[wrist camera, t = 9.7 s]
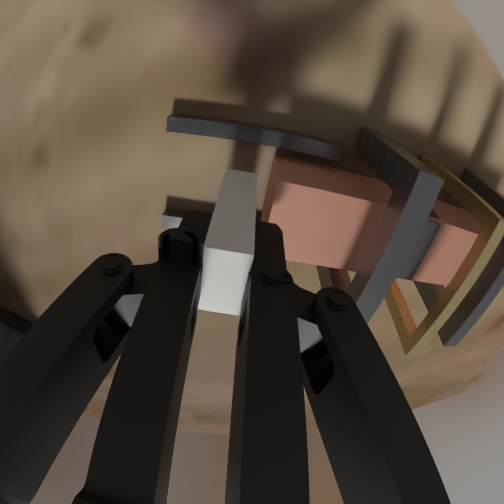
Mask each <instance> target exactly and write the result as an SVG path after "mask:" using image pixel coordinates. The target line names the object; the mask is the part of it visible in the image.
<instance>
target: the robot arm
mask: <svg viewBox="0 0 504 504" xmlns="http://www.w3.org/2000/svg"><path fill="white" fill-rule="evenodd" d="M256 190H257V174H256V173H250V172H244V171H238V170H232V169H226V172H225V176H224V179H223V182H222V185H221V188H220V192H219V195H218V198H217V202H216V205H215V208H214V212H213V214H211V213H205V212H198V211H192V210H191V211H190V212H188V213H187V214H185V215H184V216H183V218H182V220H181V222H180V225H179V227H178V228H172V229H168V230H166V231H164V232H162V233H161V234H160V235H159V237H158V251H159V259H158V261H157V262H155V263H152V264H146V265H132V262H131V260H130V258H128V257H127V256H125V255H123V254H119V253H109V254H105V255H102V256H100V257H99V258H97V259H96V260H95V261H94V262H93V263H92V264H91V265H90V266H89V267H88V268H87V269H86V270H84V271H83V272H82V273H81V274H80V275H79V276H78V277H77V278H76V279H75V280H74V281H73V282H72V283H71V284H70V285H69V286H68V287H67V289H66V290H65V291H64V292H63V293H62V294H61V295H60V296H59V297H58V298H57V299H56V300H55V301H54V302H53V303H52V304H51V305H50V306H49V307H48V309H47V310H46V311H45V312H44V313H43V314H42V315H41V316H40V317H39V319H38V320H37V321H36V322H35V323H34V324H33V325H31V324H29V323H28V322H26V321H24V320H23V319H21V318H19V317H17V316H16V315H14V314H11V313H9V312H6V311H2V310H0V504H29V503H30V502H31V501H32V499H33V497H34V496H35V494H36V493H37V491H38V489H39V487H40V485H41V484H42V482H43V480H44V478H45V476H46V474H47V473H48V471H49V469H50V467H51V465H52V463H53V462H54V460H55V458H56V457H57V455H58V453H59V452H60V450H61V448H62V446H63V445H64V443H65V441H66V440H67V438H68V436H69V435H70V433H71V431H72V429H73V428H74V426H75V425H76V423H77V421H78V420H79V418H80V416H81V415H82V413H83V412H84V410H85V408H86V407H87V405H88V404H89V402H90V400H91V399H92V397H93V396H94V394H95V393H96V391H97V389H98V388H99V386H100V385H101V383H102V382H103V380H104V379H105V377H106V376H107V374H108V373H109V371H110V370H111V368H112V367H113V365H114V364H115V362H116V361H117V359H118V358H119V356H120V355H121V357H120V360H119V362H118V365H117V368H116V371H115V374H114V378H113V381H112V384H111V387H110V390H109V393H108V397H107V400H106V403H105V407H104V410H103V414H102V417H101V421H100V424H99V428H98V432H97V436H96V440H95V443H94V447H93V452H92V456H91V460H90V464H89V469H88V474H87V479H86V482H85V485H84V487H83V489H82V490H81V491H80V492H79V493H78V494H77V495H76V496H75V498H74V500H73V502H72V504H166V502H167V494H168V486H169V477H170V470H171V464H172V456H173V450H174V449H173V448H174V443H175V436H176V430H177V424H178V418H179V412H180V406H181V400H182V394H183V388H184V382H185V377H186V371H187V366H188V361H189V355H190V350H191V345H192V340H193V335H194V330H195V325H196V317H197V309H201V310H206V311H213V312H219V313H225V314H232V315H238V316H240V313H241V317H240V322H239V326H238V330H237V334H236V338H235V341H237V347H236V359H235V372H234V385H233V398H232V411H231V424H230V439H229V452H228V466H227V480H226V494H225V504H310V503H309V474H308V473H309V472H308V451H307V432H306V415H305V401H304V388H305V391H306V394H307V397H308V400H309V403H310V406H311V408H312V411H313V414H314V417H315V420H316V423H317V426H318V429H319V431H320V435H321V437H322V440H323V443H324V446H325V449H326V452H327V455H328V458H329V461H330V464H331V467H332V469H333V472H334V476H335V479H336V482H337V484H338V487H339V490H340V493H341V496H342V499H343V502H344V504H450V500H449V498H448V495H447V492H446V490H445V487H444V485H443V482H442V480H441V477H440V474H439V472H438V469H437V467H436V464H435V462H434V460H433V457H432V455H431V453H430V450H429V448H428V446H427V444H426V441H425V439H424V436H423V434H422V432H421V430H420V428H419V425H418V423H417V421H416V419H415V417H414V415H413V412H412V410H411V408H410V406H409V404H408V402H407V400H406V398H405V396H404V394H403V392H402V390H401V388H400V386H399V384H398V382H397V380H396V378H395V376H394V374H393V372H392V370H391V368H390V366H389V364H388V362H387V360H386V358H385V356H384V354H383V352H382V351H381V349H380V347H379V345H378V343H377V341H376V339H375V338H374V336H373V334H372V332H371V330H370V328H369V327H368V325H367V323H366V321H365V319H364V318H363V316H362V314H361V312H360V310H359V309H358V307H357V305H356V303H355V302H354V300H353V299H352V298H351V296H350V295H349V294H347V293H346V292H344V291H343V290H340V289H338V288H334V287H326V288H322V289H321V290H319V291H318V292H317V294H315V293H312V292H310V291H307V290H305V289H303V288H300V287H299V286H297V285H296V284H294V282H293V278H292V276H291V274H290V273H289V272H288V271H287V269H286V259H285V249H284V241H283V231H282V230H281V229H280V227H279V226H278V225H277V224H275V223H269V222H264V221H258V220H255V219H256ZM121 353H122V354H121ZM303 385H304V387H303Z"/></svg>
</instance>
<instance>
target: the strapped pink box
mask: <svg viewBox="0 0 504 504" xmlns="http://www.w3.org/2000/svg"><path fill="white" fill-rule="evenodd" d="M392 193H393V191H392V190H391V188H390V187H389V186H388V185H387V184H386V183H385V182H383V181H380V180H377V179H373V178H370V177H366V176H363V175H359V174H355V173H352V172H348V171H344V170H340V169H336V168H332V167H328V166H324V165H320V164H316V163H311V162H307V161H303V160H298V159H293V158H289V157H284V156H279V155H275V156H274V161H273V165H272V170H271V174H270V179H269V183H268V188H267V192H266V196H265V201H264V205H263V210H262V214H261V221H264V222H269V223H275V224H277V225H278V226H279V227H280V229H281V230H282V231H283V241H284V249H285V259H286V260H288V261H294V262H300V263H306V264H313V265H319V266H325V267H331V268H337V269H344V270H350V271H356V272H357V271H358V269H359V267H360V264H361V262H362V260H363V258H364V256H365V254H366V252H367V250H368V248H369V246H370V244H371V241H372V239H373V237H374V235H375V233H376V230H377V228H378V226H379V224H380V221H381V219H382V217H383V214H384V212H385V210H386V207H387V205H388V203H389V200H390V198H391V195H392ZM482 227H483V226H482V225H481V224H480V223H479V222H478V221H477V220H476V219H475V218H474V217H473V216H472V215H471V214H470V213H469V212H468V211H467V210H464V209H462V208H459V207H457V206H454V205H451V204H449V203H446V202H443V201H441V200H438V199H436V201H435V204H434V206H433V208H432V210H431V212H430V214H429V216H428V219H427V221H426V223H425V225H424V227H423V229H422V231H421V233H420V235H419V237H418V239H417V241H416V242H415V244H414V246H413V248H412V250H411V252H410V254H409V256H408V257H407V259H406V261H405V263H404V265H403V266H402V268H401V270H400V272H399V273H398V275H397V277H396V278H400V279H407V280H413V281H419V282H426V283H432V284H438V285H445V286H448V284H449V283H450V281H451V280H452V278H453V277H454V275H455V274H456V272H457V271H458V269H459V267H460V266H461V264H462V262H463V261H464V259H465V258H466V256H467V254H468V252H469V251H470V249H471V247H472V245H473V244H474V242H475V240H476V238H477V237H478V235H479V233H480V231H481V229H482Z"/></svg>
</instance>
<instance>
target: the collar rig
mask: <svg viewBox="0 0 504 504" xmlns="http://www.w3.org/2000/svg"><path fill="white" fill-rule="evenodd" d="M166 131H168V132H178V133H187V134H196V135H204V136H211V137H218V138H225V139H232V140H238V141H244V142H250V143H256V144H261V145H267V146H272V147H277V148H282V149H287V150H291V151H296V152H301V153H305V154H309V155H314V156H318V157H322V158H326V159H330V160H334V161H338V162H340V160H341V157H342V153H343V150H344V147H343V146H342V145H341V144H339V143H335V142H331V141H328V140H324V139H320V138H316V137H312V136H307V135H303V134H299V133H294V132H290V131H285V130H280V129H275V128H270V127H265V126H260V125H254V124H248V123H242V122H236V121H229V120H222V119H215V118H207V117H199V116H190V115H179V114H171V115H169V116H168V118H167V129H166ZM355 150H356V152H357V153H358V154H359V155H360V156H361V157H362V158H363V159H364V160H365V161H366V162H367V163H368V164H369V165H370V166H371V167H372V168H373V169H374V170H375V172H376V173H377V174H378V175H379V176H380V177H381V178H382V179H383V180H384V182H385V183H386V184H387V185H388V186H389V187H390V188H391V190H392V191H393V193H392V195H391V198H390V200H389V203H388V205H387V207H386V210H385V212H384V214H383V217H382V219H381V221H380V224H379V226H378V228H377V230H376V233H375V235H374V237H373V239H372V241H371V244H370V246H369V248H368V250H367V252H366V254H365V256H364V258H363V260H362V262H361V264H360V267H359V269H358V271H357V273H356V275H355V277H354V279H353V280H352V282H351V281H350V278H349V275H348V272H347V270H344V269H337V268H331V267H325V266H319V265H316V266H317V270H318V275H319V280H320V284H321V289H322V288H326V287H334V288H338V289H340V290H343V291H344V292H346V293H347V294H349V295H350V296H351V298H352V299H353V300H354V302H355V303H356V305H357V307H358V309H359V310H360V312H361V314H362V316H363V318H364V319H365V321H366V323H368V322H369V320H370V319H371V317H372V316H373V314H374V313H375V311H376V310H377V308H378V306H379V305H380V303H381V302H382V300H383V299H384V298H385V300H386V303H387V305H388V308H389V311H390V313H391V316H392V319H393V321H394V324H395V327H396V330H397V332H398V335H399V338H400V341H401V344H402V347H403V350H404V353H405V356H417V355H418V354H419V353H420V352H421V350H422V349H423V348H424V347H425V346H426V345H427V344H428V343H429V341H430V340H431V339H432V338H433V337H434V336H435V334H436V333H437V332H438V334H439V336H440V339H441V341H442V344H443V346H456V345H457V344H458V343H459V341H460V340H461V339H462V338H463V337H464V336H465V335H466V333H467V332H468V331H469V330H470V329H471V328H472V326H473V325H474V324H475V323H476V322H477V320H478V319H479V318H480V317H481V315H482V314H483V313H484V312H485V310H486V309H487V308H488V306H489V305H490V304H491V302H492V301H493V300H494V298H495V297H496V296H497V294H498V293H499V291H500V290H501V289H502V287H503V286H504V196H503V195H502V194H501V193H499V192H498V191H497V190H496V189H495V188H493V187H492V186H491V185H490V184H488V183H487V182H486V181H484V180H483V179H482V178H481V177H479V176H478V175H477V174H475V173H473V172H471V171H469V170H467V169H465V171H464V173H463V176H462V178H461V180H460V179H459V178H458V177H456V176H455V175H454V174H453V173H451V172H450V171H449V170H447V169H446V168H445V167H443V166H442V165H441V164H439V163H438V162H437V161H435V160H434V159H433V158H431V157H428V156H426V155H424V154H422V155H421V158H420V160H418V159H417V158H416V157H414V156H413V155H412V154H410V153H409V152H408V151H406V150H405V149H404V148H402V147H401V146H399V145H398V144H397V143H395V142H394V141H392V140H391V139H389V138H388V137H386V136H385V135H384V134H382V133H380V132H377V131H374V130H371V129H368V128H365V127H362V128H361V132H360V135H359V138H358V141H357V145H356V148H355ZM442 187H443V188H444V189H445V190H446V191H447V192H448V193H450V194H451V195H452V196H453V197H454V198H455V199H456V200H457V201H458V202H459V203H460V204H461V205H462V206H463V207H464V208H465V209H466V210H467V211H468V212H469V213H470V214H471V215H472V216H473V217H474V218H475V219H476V220H477V221H478V222H479V223H480V224H481V225H482V226H483V227H482V229H481V231H480V233H479V235H478V237H477V238H476V240H475V242H474V244H473V245H472V247H471V249H470V251H469V252H468V254H467V256H466V258H465V259H464V261H463V262H462V264H461V266H460V267H459V269H458V271H457V272H456V274H455V275H454V277H453V278H452V280H451V281H450V283H449V284H448V286H447V287H446V289H445V288H444V286H443V285H438V284H432V283H426V282H419V281H413V282H414V284H415V286H416V287H417V289H418V291H419V293H420V295H421V297H422V299H423V302H424V304H425V306H426V308H427V310H428V312H429V313H428V314H427V315H426V317H425V318H424V319H423V321H422V322H421V323H420V325H419V326H418V327H417V328H416V325H415V323H414V320H413V318H412V315H411V313H410V311H409V308H408V306H407V304H406V302H405V299H404V297H403V295H402V293H401V290H400V288H399V286H398V284H397V282H396V280H395V279H396V277H397V275H398V273H399V272H400V270H401V268H402V266H403V265H404V263H405V261H406V259H407V257H408V256H409V254H410V252H411V250H412V248H413V246H414V244H415V242H416V241H417V239H418V237H419V235H420V233H421V231H422V229H423V227H424V225H425V223H426V221H427V219H428V216H429V214H430V212H431V210H432V208H433V206H434V204H435V201H436V199H437V197H438V195H439V192H440V190H441V188H442ZM187 213H188V212H186V211H179V210H173V209H165V211H164V213H163V214H162V227H168V228H178V227H179V225H180V222H181V220H182V218H183V216H184V215H185V214H187Z"/></svg>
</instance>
